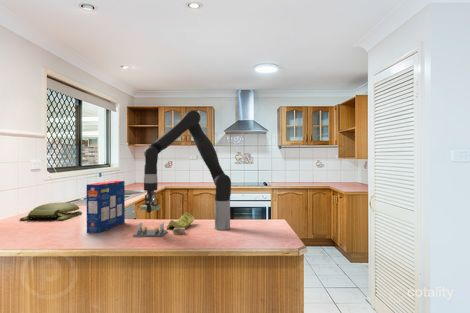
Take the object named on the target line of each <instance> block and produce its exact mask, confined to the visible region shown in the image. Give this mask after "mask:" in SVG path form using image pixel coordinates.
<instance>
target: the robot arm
mask: <svg viewBox="0 0 470 313" xmlns="http://www.w3.org/2000/svg"><path fill="white" fill-rule="evenodd" d="M200 122H201V114H200V113H199V112H198V111H197V110H194V109H193V110H191V109H190V110H189V111H187V112H185V113H184V115H183V117H182V119H181V120H180V121H179V122H177V123H176V124H175V125H174V126H173V127H171V128H169V129H168V130H167V131H166V132H165V133H163V134H161V136H159V138H157V140H155V141H154V142H153V143H152V144H150V145H148V147H146V148H145V149H144V150H143V155H144V158H145V159H144V160H145V162H144V167H143V168H144V172H143V173H144V176H143V191H144V192H146V194H144V199H145V200H144V202H145V203H144V205H146V206H147V210H146V213H152V211H153V212H154V211H155V210H151V205H153V204H156V199H157V195H156V194H157V192H156V191H158V185H159V184H158V181H159V179H158V160H159V154H160V153H161V152H162V151H164V150H165V149H167V148H169V147H170V146H171V144H174V142H175V141H176V140H177V139H178V138H179V137H180V136H182V135H183V134H184V133H185V132H187V131H188V132H189V133H190V135H191V137H192V139H193V142H194V144H195V146H196V148H197V152H199V155H200V156H201V159H202V160H203V162H204V163H205V165H206V167H207V169H208V171H209V172H210V174H211V178H212V181H213V184H214V186H215V194H214V229H215V230H216V231H217V230H218V231H228V230H230V229H231V194H232V181H231V178H230V176H229V175H227V174H226V173H225V172H224V170H223V168H222V166H221V165H220V161H219V157H218V155H217V151H216V149H215V147H214V145H213V143H212V141H211V139H209V137H208V136H207V135H206V134H205V132H204V130H203V129H202V127H201V124H200Z"/></svg>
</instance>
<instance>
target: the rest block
mask: <svg viewBox="0 0 470 313" xmlns="http://www.w3.org/2000/svg"><path fill="white" fill-rule="evenodd" d="M172 233H173V234H172V235H176V236H177V235H185V233H186V228H176V227H174V228H173V231H172Z"/></svg>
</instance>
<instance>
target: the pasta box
mask: <svg viewBox="0 0 470 313" xmlns="http://www.w3.org/2000/svg"><path fill="white" fill-rule="evenodd" d="M125 191H126V189H125V180H109V181H104V182H96V183H89V184H88V183H87V184H86V233H88V234H89V233H91V234H100V233H101V234H102V233H103V232H105V231H108V230H111V229H113V228H116V227H118V226H120V225H123V224H124V225H125V223H126V221H125V217H126V215H125V214H126V213H125V212H126V211H125V199H126V198H125V197H126V195H125V193H126V192H125Z"/></svg>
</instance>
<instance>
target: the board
mask: <svg viewBox="0 0 470 313" xmlns="http://www.w3.org/2000/svg"><path fill="white" fill-rule="evenodd" d="M161 206H162V204H158V203H155V204H153V205H151V210H154V211H159V210H161V209H162V208H161ZM139 207H140V208H139V210H140V211H147V206H146V205H145V204H142V205H141V206H139Z"/></svg>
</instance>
